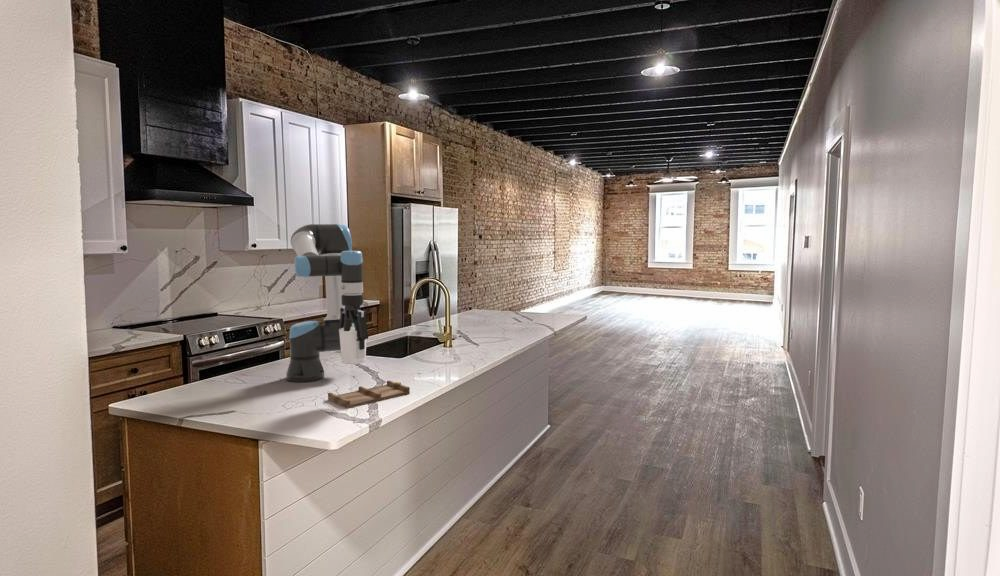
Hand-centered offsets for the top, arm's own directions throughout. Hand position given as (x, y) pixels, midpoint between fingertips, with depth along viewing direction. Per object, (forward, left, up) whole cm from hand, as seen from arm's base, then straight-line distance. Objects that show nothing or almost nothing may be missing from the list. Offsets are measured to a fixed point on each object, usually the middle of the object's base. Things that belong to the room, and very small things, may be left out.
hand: (353, 356), depth 204 cm
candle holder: (0, 0, -2) cm, 2 cm away
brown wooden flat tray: (0, +6, -16) cm, 17 cm away
